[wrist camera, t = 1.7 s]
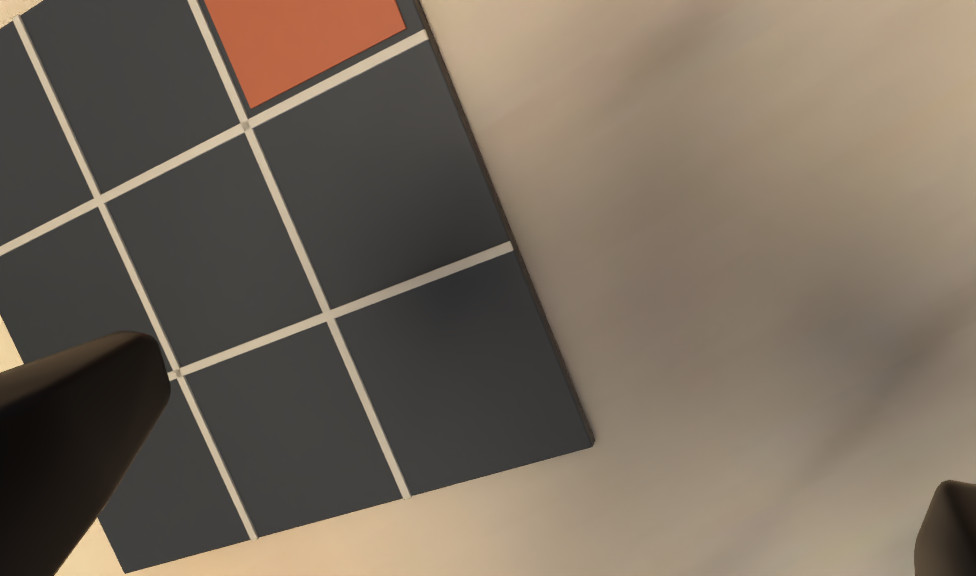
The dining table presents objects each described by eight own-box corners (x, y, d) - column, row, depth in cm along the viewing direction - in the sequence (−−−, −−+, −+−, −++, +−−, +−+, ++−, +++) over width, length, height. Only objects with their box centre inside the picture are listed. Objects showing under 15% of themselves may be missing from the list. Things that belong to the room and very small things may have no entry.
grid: (595, 440, 24) (593, 448, 23) (133, 567, 31) (122, 576, 30) (343, -187, 22) (333, -195, 21) (-92, 97, 29) (-108, 96, 28)
